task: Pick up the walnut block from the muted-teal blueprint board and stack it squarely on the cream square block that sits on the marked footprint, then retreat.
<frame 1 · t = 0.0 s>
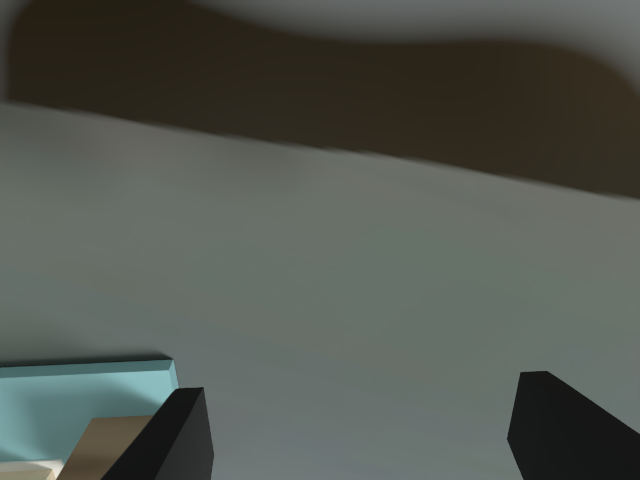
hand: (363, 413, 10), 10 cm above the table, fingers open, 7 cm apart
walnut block: (145, 448, 22), point 1 cm above the table, touching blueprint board
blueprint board: (65, 467, 23), on the table
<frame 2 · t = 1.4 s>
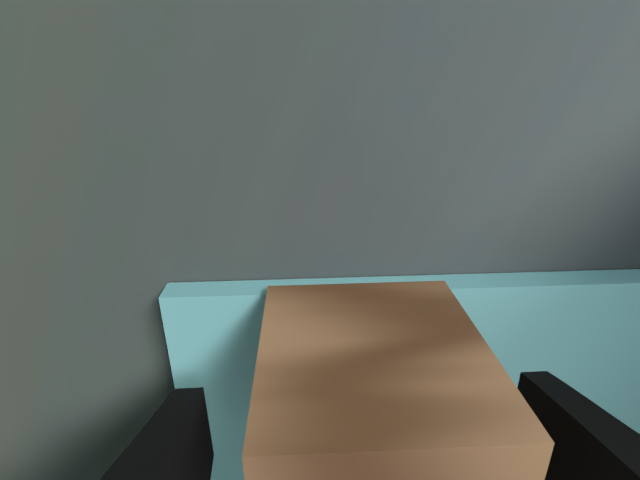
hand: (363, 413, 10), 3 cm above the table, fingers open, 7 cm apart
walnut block: (354, 355, 11), point 1 cm above the table, touching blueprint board
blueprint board: (407, 459, 14), on the table
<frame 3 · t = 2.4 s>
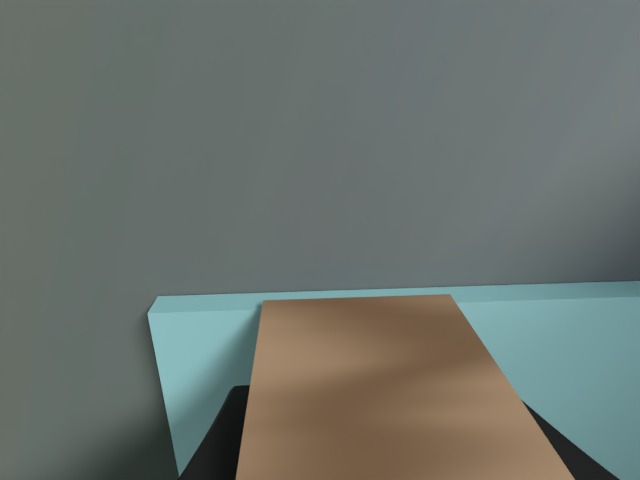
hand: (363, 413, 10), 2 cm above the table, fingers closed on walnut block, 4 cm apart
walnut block: (355, 372, 11), point 1 cm above the table, touching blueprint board, gripper
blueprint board: (410, 477, 14), on the table
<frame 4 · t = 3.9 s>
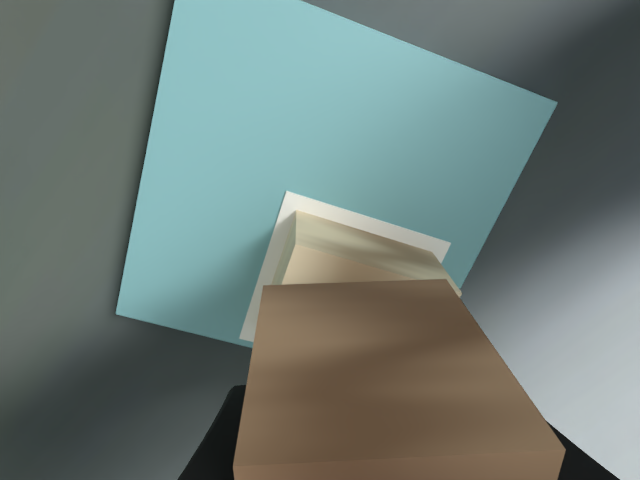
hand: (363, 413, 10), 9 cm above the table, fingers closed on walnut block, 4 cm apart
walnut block: (353, 357, 11), point 8 cm above the table, touching gripper
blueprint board: (319, 210, 18), on the table
cream square block: (341, 292, 18), point 1 cm above the table, touching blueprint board
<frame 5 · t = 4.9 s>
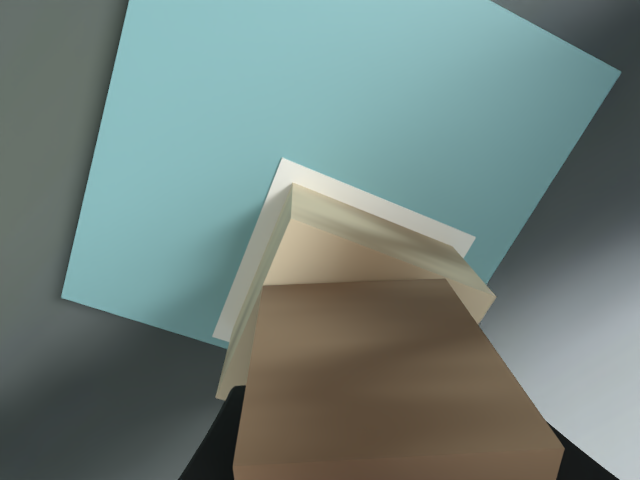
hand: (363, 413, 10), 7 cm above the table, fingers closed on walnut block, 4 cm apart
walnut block: (353, 357, 11), point 5 cm above the table, touching gripper
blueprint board: (319, 186, 14), on the table
cream square block: (339, 288, 15), point 1 cm above the table, touching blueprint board
when the fingers open (7 cm above the table, at t = 5.3 s): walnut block stays where it is, resting on cream square block.
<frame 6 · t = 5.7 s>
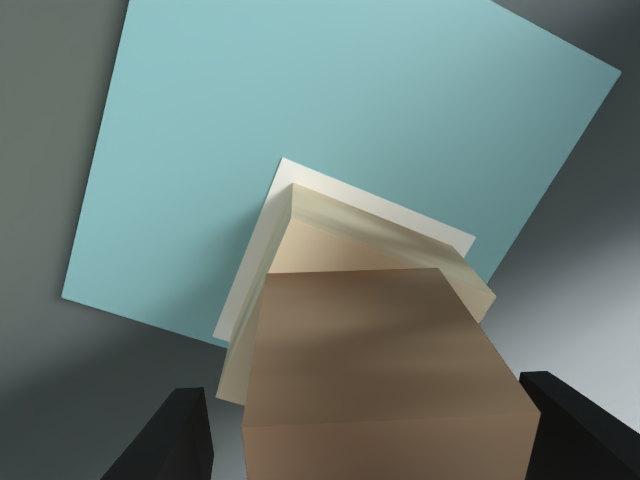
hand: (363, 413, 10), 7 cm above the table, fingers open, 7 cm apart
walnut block: (351, 342, 12), point 4 cm above the table, touching cream square block
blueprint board: (320, 186, 14), on the table
cream square block: (339, 288, 15), point 1 cm above the table, touching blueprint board, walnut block
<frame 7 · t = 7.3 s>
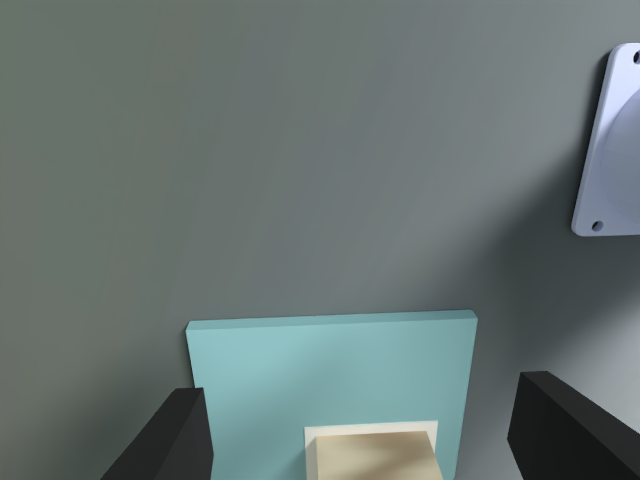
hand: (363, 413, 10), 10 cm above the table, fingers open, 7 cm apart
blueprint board: (333, 422, 23), on the table
cream square block: (369, 472, 24), point 1 cm above the table, touching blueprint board, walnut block
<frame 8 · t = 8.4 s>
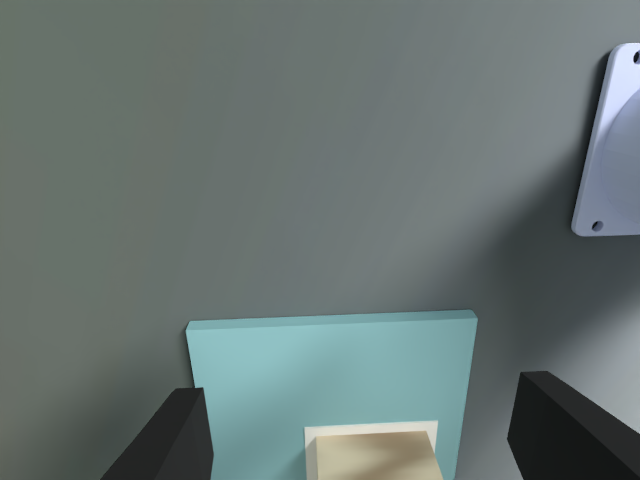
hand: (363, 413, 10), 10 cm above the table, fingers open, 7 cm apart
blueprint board: (333, 422, 23), on the table
cream square block: (369, 472, 24), point 1 cm above the table, touching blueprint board, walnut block
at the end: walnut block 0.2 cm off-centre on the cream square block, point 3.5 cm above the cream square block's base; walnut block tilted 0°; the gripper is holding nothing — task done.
